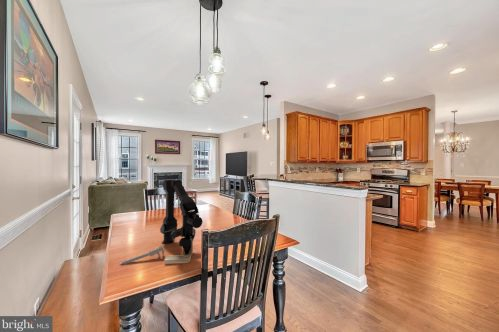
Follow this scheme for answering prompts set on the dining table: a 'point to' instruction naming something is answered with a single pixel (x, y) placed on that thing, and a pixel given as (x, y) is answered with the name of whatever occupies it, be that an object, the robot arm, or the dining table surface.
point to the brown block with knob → (189, 251)
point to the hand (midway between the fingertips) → (187, 252)
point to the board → (177, 259)
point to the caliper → (145, 255)
